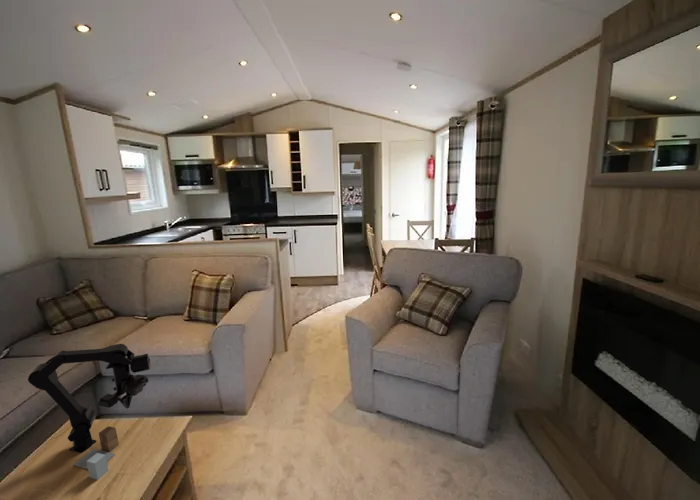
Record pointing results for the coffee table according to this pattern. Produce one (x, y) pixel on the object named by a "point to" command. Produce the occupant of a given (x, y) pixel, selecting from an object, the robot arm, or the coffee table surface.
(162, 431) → the coffee table surface
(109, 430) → the walnut block
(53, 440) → the coffee table surface
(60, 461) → the coffee table surface
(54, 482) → the coffee table surface
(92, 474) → the bluegrey block
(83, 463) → the felt mat
